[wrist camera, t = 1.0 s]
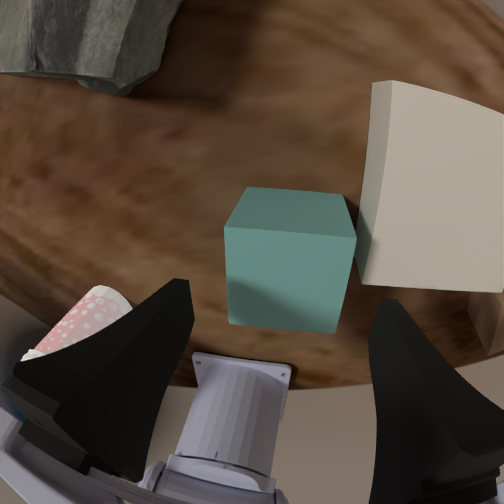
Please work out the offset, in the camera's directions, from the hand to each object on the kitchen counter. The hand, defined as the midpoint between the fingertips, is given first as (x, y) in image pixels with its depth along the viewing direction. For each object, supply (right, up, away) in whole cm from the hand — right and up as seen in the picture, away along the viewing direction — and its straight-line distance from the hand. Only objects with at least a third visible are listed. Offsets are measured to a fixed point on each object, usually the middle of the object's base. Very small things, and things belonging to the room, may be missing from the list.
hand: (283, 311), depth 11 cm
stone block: (-12, +16, +1) cm, 20 cm away
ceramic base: (+9, +6, +2) cm, 11 cm away
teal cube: (+1, +3, +6) cm, 7 cm away
